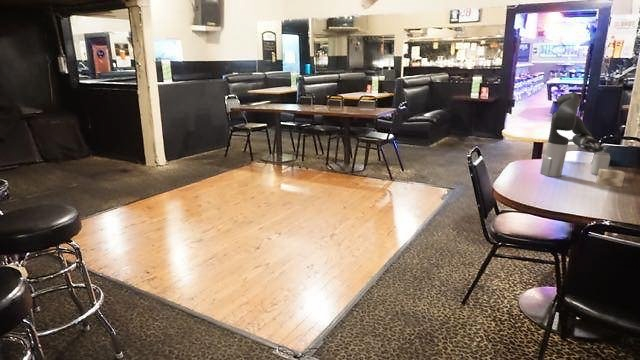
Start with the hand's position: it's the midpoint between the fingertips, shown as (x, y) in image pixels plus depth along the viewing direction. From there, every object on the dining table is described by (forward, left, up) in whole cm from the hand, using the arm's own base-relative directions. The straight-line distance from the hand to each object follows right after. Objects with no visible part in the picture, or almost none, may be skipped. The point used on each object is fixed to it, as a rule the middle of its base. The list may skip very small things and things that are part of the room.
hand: (597, 150), depth 232 cm
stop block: (-12, -27, -11) cm, 31 cm away
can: (-4, -9, -11) cm, 15 cm away
